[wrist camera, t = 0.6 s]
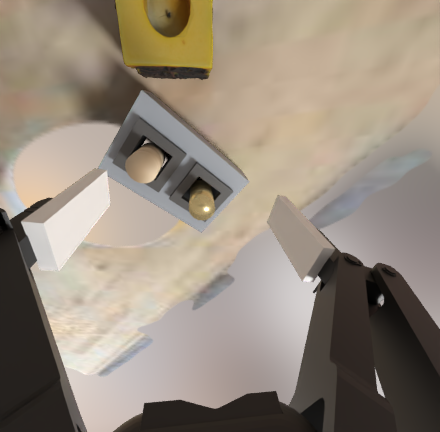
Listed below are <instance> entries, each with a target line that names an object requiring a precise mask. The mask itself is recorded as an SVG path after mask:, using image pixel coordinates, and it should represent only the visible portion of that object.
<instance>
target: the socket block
mask: <svg viewBox="0 0 440 432" xmlns="http://www.w3.org/2000/svg"><path fill="white" fill-rule="evenodd" d="M146 138H149V139H150V140H151V141H152V142H154V143H155V144H156V145H158V146H159V147H160V148H162V149H163V150H164V151H166V152H167V153H168V154H170V155H171V156H170V157H169V159H168V160H167V162H166V163H165V165H164V166H163V167H161V168H160V170H159V172H158V174H157V176H156V178H155V179H154V180H153V181H151V182H149V183H139V182H136V181H134V180H133V179H132V178H130V176H129V175H128V174H127V172H126V168H125V163H126V160H127V159H128V157H129V156H131V155H132V154H133V153H134V152H135V151H137V150H138V149H139V148H140V147H141V146H142V145H143V143H144V141H145V140H146ZM98 169H102V170H107V175H108V177H110V178H112V179H113V180H115V181H117V182H119V183H120V184H122V185H123V186H125V187H127V188H128V189H130V190H132V191H134V192H135V193H137V194H138V195H140V196H142V197H143V198H145V199H147V200H148V201H150V202H151V203H153V204H155V205H156V206H158V207H160V208H161V209H163V210H165V211H167V212H168V213H170V214H171V215H173V216H175V217H176V218H178V219H180V220H181V221H183V222H185V223H186V224H188V225H190V226H191V227H193V228H195V229H196V230H198V231H200V232H201V233H202V232H203V231H204V230H205V228H206V227H207V226H208V225H209V224H210V223H211V222H212V221H213V220H214V219H215V218H216V217H217V216H218V215H219V214H220V212H221V211H222V210H223V209H224V208H225V207H226V206H227V205H228V204H229V203H230V202H231V201H232V200H233V199H234V198H235V196H236V195H237V194H238V193H239V192H240V191H241V190H242V189H243V188H244V187H245V186H246V185H247V184H248V183H249V181H248V179H247V178H246V176H245V175H244V173H243V172H242V171H241V170H240V169H239V168H238V167H237V166H236V165H234V164H233V163H232V162H231V161H230V160H229V159H228V158H226V157H225V156H224V155H223V154H222V153H221V152H219V151H218V150H217V149H216V148H215V147H214V146H213V145H211V144H210V143H209V142H208V141H207V140H206V139H205V138H203V137H202V136H201V135H200V134H199V133H198V132H196V131H195V130H194V129H193V128H192V127H191V126H190V125H188V124H187V123H186V122H185V121H184V120H183V119H181V118H180V117H179V116H178V115H177V114H176V113H175V112H173V111H172V110H171V109H170V108H169V107H168V106H166V105H165V104H164V103H163V102H162V101H161V100H160V99H158V98H157V97H156V96H155V95H154V94H153V93H151V92H149V91H144V90H141V92H140V94H139V96H138V97H137V99H136V101H135V103H134V105H133V106H132V108H131V110H130V112H129V113H128V115H127V117H126V119H125V121H124V122H123V124H122V126H121V128H120V129H119V131H118V133H117V135H116V137H115V138H114V140H113V142H112V144H111V146H110V147H109V149H108V151H107V153H106V154H105V156H104V158H103V160H102V162H101V163H100V165H99V167H98ZM198 176H199V177H200V178H202V179H203V180H204V181H206V182H207V183H208V184H210V185H211V188H212V193H213V199H214V204H215V212H214V214H213V216H212V217H211V218H209V219H207V220H197V219H195V218H193V217H192V216H191V215H190V213H189V199H190V186H191V185H192V184H193V183H194V181H195V180H196V179H197V178H198Z"/></svg>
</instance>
